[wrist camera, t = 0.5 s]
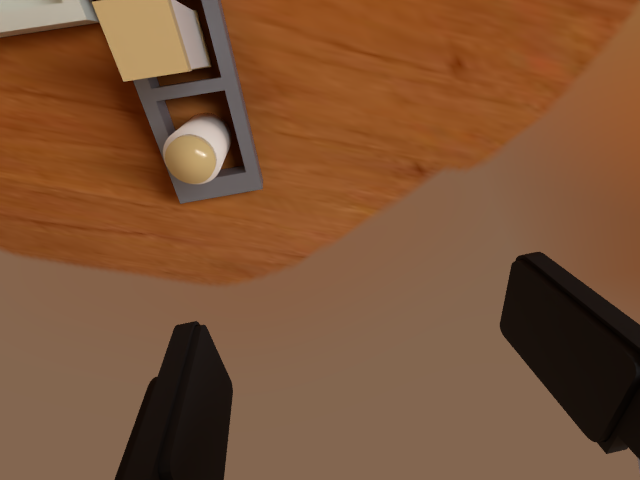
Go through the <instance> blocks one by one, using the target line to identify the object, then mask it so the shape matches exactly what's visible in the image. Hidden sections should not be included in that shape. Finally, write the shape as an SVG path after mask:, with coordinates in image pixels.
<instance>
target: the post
mask: <svg viewBox="0 0 640 480" xmlns="http://www.w3.org/2000/svg"><path fill="white" fill-rule="evenodd" d="M231 142H232V135H231V131H230V128H229V126H228V125H227V123H226V122H225V121H224V120H223V119H222V118H220V117H219V116H217V115H215V114H212V113H200V114H197V115H195V116H194V117H193V118H191V119H190V120H189V121H188V122H186V123H185V124H184V125H183V126H181V127H180V128H179V129H178V130H176V131H175V132H174V133H173V134H171V135H170V136H169V137H168V139H167V140H166V142H165V144H164V148H163V157H164V161H165V164H166V166H167V168H168V169H169V171H170V172H171V174H172V175H173V176H175V177H176V178H177V179H179V180H180V181H182V182H185V183H189V184H204V183H207V182H209V181H211V180H212V179H214V178H215V177H216V176H217V174H218V173H219V171H220V169H221V167H222V164H223V162H224V160H225V157H226V155H227V153H228V150H229V148H230V146H231Z"/></svg>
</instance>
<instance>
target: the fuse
mask: <svg viewBox="0 0 640 480" xmlns="http://www.w3.org/2000/svg"><path fill="white" fill-rule="evenodd" d="M92 4H93V7H94V9H95V12H96V14H97V17H98V19H99V22H100V24H101V27H102V29H103V32H104V34H105V37H106V39H107V42H108V44H109V47H110V49H111V52H112V54H113V57H114V59H115V62H116V64H117V67H118V69H119V72H120V74H121V77H122V79H123V82H125V81H131V80H138V79H144V78H150V77H157V76H163V75H169V74H176V73H182V72H188V71H192V70H195V69H201V68H207V67H212V63H211V60H210V56H209V52H208V49H207V45H206V41H205V37H204V34H203V30H202V26H201V22H200V19H199V15H198V11H197V10H191V9H190V8H188V7H186V6H184V5H183V4H181V3H179V2H177V1H176V0H101V1H94V2H92Z"/></svg>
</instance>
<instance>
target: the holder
mask: <svg viewBox="0 0 640 480" xmlns="http://www.w3.org/2000/svg"><path fill="white" fill-rule="evenodd" d="M176 1H177V0H176ZM201 1H202V4H203V8H204V12H205V16H206V20H207V24H208V27H209V31H210V35H211V39H212V43H213V47H214V51H215V54H216V58H217V62H218V66H219V70H220V74H221V77H216V78H209V79H203V80H197V81H191V82H184V83H178V84H172V85H166V86H159V83H158V80H157V77H150V78H144V79H138V80H133V82H134V85H135V87H136V90H137V92H138V95H139V98H140V100H141V103H142V105H143V108H144V111H145V113H146V116H147V118H148V121H149V124H150V126H151V129H152V131H153V134H154V137H155V139H156V142H157V144H158V147H159V149H160V152H161V155H162V157H163V148H164V144H165V142H166V140H167V139H168V137H169V136H170V135H171V134H173V133H174V132H175V128H174V126H173V123H172V120H171V117H170V114H169V111H168V109H167V106H166V103H165V100H167V99H174V98H180V97H186V96H192V95H198V94H204V93H211V92H217V91H223V90H225V93H226V97H227V101H228V104H229V108H230V112H231V116H232V120H233V124H234V128H235V131H236V135H237V139H238V143H239V147H240V151H241V155H242V158H243V162H244V166H239V167H233V168H227V169H222V170H220V171H219V173H218V174H217V176H216V177H215V178H214V179H212V180H211V181H209V182H207V183H204V184H189V183H185V182H182V181H180V180H179V179H177V178H176V177H175V176H173V175H172V174H171V172H170V171H169V169H168V168H167V166H166V168H167V170H168V173H169V175H170V178H171V181H172V183H173V186H174V188H175V191H176V194H177V196H178V199H179V201H180V204H181V203H186V202H192V201H198V200H203V199H209V198H215V197H220V196H226V195H231V194H237V193H243V192H248V191H254V190H260V189H263V179H262V174H261V170H260V166H259V162H258V157H257V153H256V149H255V145H254V140H253V136H252V132H251V128H250V124H249V119H248V115H247V111H246V107H245V102H244V98H243V94H242V90H241V85H240V81H239V77H238V73H237V68H236V64H235V60H234V56H233V51H232V47H231V43H230V39H229V34H228V30H227V26H226V22H225V17H224V13H223V9H222V5H221V1H220V0H201ZM163 160H164V157H163ZM164 162H165V161H164ZM165 165H166V164H165Z"/></svg>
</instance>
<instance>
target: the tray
mask: <svg viewBox="0 0 640 480" xmlns="http://www.w3.org/2000/svg"><path fill="white" fill-rule="evenodd" d="M92 2H93V0H0V37H7V36H13V35H20V34H27V33H34V32H40V31H47V30H54V29H60V28H67V27H74V26H80V25H87V24H94V23H100V22H99V19H98V17H97V14H96V12H95V9H94V7H93V4H92Z"/></svg>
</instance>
